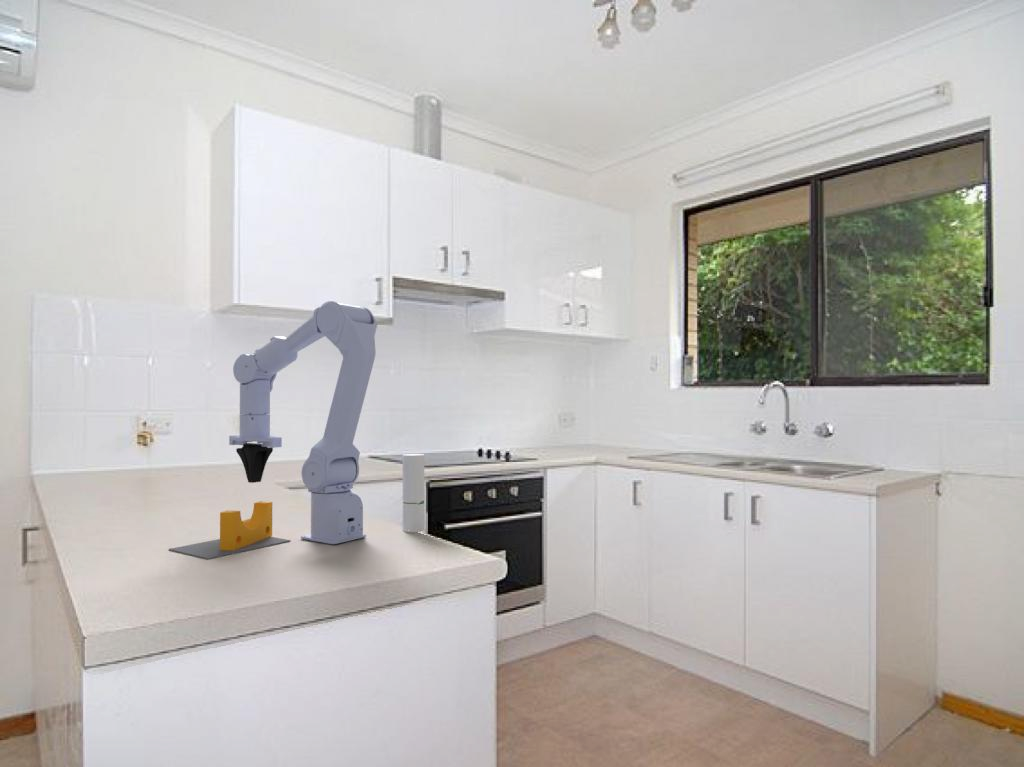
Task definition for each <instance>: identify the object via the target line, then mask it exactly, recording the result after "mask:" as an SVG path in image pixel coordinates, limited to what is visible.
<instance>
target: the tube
mask: <svg viewBox="0 0 1024 767" xmlns="http://www.w3.org/2000/svg"><path fill="white" fill-rule="evenodd" d="M408 530H409V531H408ZM410 531H412V532H410ZM424 531H425V454H424V453H404V454H402V532H404V533H420V532H424Z"/></svg>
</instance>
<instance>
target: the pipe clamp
mask: <svg viewBox="0 0 1024 767" xmlns="http://www.w3.org/2000/svg"><path fill="white" fill-rule="evenodd" d="M268 537H273V501H262V500H261V501H257V502H254V503H253V511H252V514H251V517H250V518H248V519H247V518H246V519H245V520H243V519H242V516H241V510H228V509H227V510H224V511H221V512H220V513H219V539H220V550H236V549H239V548H241V547H244V546H247V545H249V544H252V543H255V542H257V541H260V540H263V539H265V538H268Z"/></svg>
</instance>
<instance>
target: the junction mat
mask: <svg viewBox="0 0 1024 767" xmlns="http://www.w3.org/2000/svg"><path fill="white" fill-rule="evenodd" d="M290 542H291V540H290V539H286V538H282V537H281V538H280V537H275V536H271V537H268V538H265V539H263V540H260V541H257V542H255V543H252V544H249V545H247V546H244V547H241V548H239V549H236V550H220V538H218V539H213V540H208V541H207V540H206V541H202V542H197V543H193V544H188V545H182V546H177V547H171V548H168V551H170V552H175V553H179V554H183V555H187V556H192V557H195V558H200V559H204V560H212V559H216V558H220V557H226V556H231V555H235V554H240V553H245V552H249V551H253V550H259V549H262V548H267V547H272V546H275V545H280V544H285V543H290Z"/></svg>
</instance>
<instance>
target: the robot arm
mask: <svg viewBox="0 0 1024 767" xmlns="http://www.w3.org/2000/svg"><path fill="white" fill-rule="evenodd" d="M377 329H378V320H376V318H375V316H374V314H373V312H372V311H371V310H370V309H368V308H367V307H366V306H357V305H351V304H346V303H339V302H337V301H335V300H328V301H326V302H324V303H323V304H321V306H318V307H316V308H315V309H314V311H313V315H312V316H311V317H310V318H308V319H307V320H306V321H304V323H302V324H301V325H300V326H298V328H296V329H295V330H294V331H293V332H291V333H290V334H289V335H288V336H286V337H285V336H281V335H280V336H272V337H270V339H269V340H270V341H269V342H268V343H266V344H265V345H264V346H262V347H260V348H257V349H255V350H254V353H251V354H246V353H243V354H240V355H239V356H238V357H237V358H236V359H235V361H234V363H233V368H232V369H233V376H234V378H235V381H237V383H239V435H238V434H237V435H229V436H228V438H229V440H228V443H229V444H228V445H229V446H242V447H236V448H235V449H236V450H235V451H236V453H237V455H238V456H239V458H240V461H241V462H242V464H243V468H244V471H245V475H246V479H247V482H248V483H251V484H254V483H261V481H262V479H263V474H264V471H265V467H266V464H267V462H268V460H269V457H270V456H271V454H272V453H273V450H274V448H282V442H283V441H282V436H281V437H280V436H272V435H271V392H272V390H273V389H274V388H273V387H274V386H273V383H274V381H275V380H276V377H277V374H278V373H279V372H280V371H282V370H284V369H285V368H286V367H288V366H289V365H291V364H293V362H295V361H296V360H297V358H298V354H299V353H298V352H300V351H301V350H303V349H306V348H307V347H309V346H311V345H312V344H313V343H315V342H317V341H319V340H320V339H322V338H324V337H326V339H327V340H329V341H330V342H331V344H333V346H335V347H336V348H337V349H338V351H339V352H340V354H341V356H342V361H341V366H340V370H339V372H338V373H339V374H338V377H337V381H336V385H335V389H334V393H333V397H332V402H331V406H330V409H329V414H328V417H327V420H326V426H325V428H324V433H323V436H322V438H321V439H320V440H319V441H318V442H317V443H315V444H314V445H313V446H312V447H311V448H310V451H309V455H308V457H307V459H306V460H305V461H304V463H303V465H302V467H301V468H302V469H301V479H302V482H303V484H304V486H305V487H306V488H307V490H308V491H307V492H308V493H310V533H308V534H304V535H300V539H302V540H308V541H311V542H318V543H322V544H323V543H324V544H329V545H338V544H342V543H347V542H351V541H354V540H357V539H362V538H366V537H367V534H366V533H364V520H363V519H364V516H363V515H364V507H363V502H362V498H361V497H360V496H359V495H358V494H355V493H353V492H352V490H351V489H354V483H356V481H357V479H358V477H359V476H360V464H359V460H360V454H361V452H360V450H359V449H358V448H357V447H356V446H355V444H354V439H355V436H356V432H357V428H358V424H359V421H360V418H361V417H360V416H361V413H362V408H363V405H364V401H365V398H366V393H367V390H368V385H369V382H370V378H371V374H372V370H373V367H374V361H375V359H376V352H377V351H376V341H375V338H376V337H375V335H376V331H377ZM253 442H254V443H253ZM255 442H256V443H255Z"/></svg>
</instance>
